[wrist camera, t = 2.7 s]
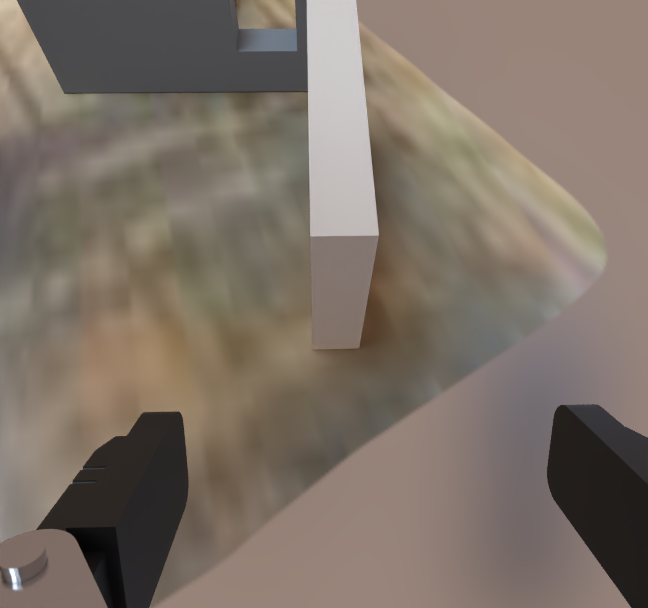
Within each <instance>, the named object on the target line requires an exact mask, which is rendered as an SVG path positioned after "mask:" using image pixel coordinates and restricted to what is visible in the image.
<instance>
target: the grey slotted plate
mask: <svg viewBox="0 0 648 608" xmlns="http://www.w3.org/2000/svg"><path fill="white" fill-rule="evenodd" d="M17 1H18V3H19V5H20V7H21V9H22V11H23V13H24V15H25V17H26V19H27V21H28V23H29V25H30V27H31V29H32V31H33V33H34V35H35V37H36V39H37V41H38V43H39V45H40V46H41V48H42V50H43V52H44V54H45V56H46V58H47V60H48V62H49V64H50V66H51V68H52V70H53V72H54V74H55V76H56V78H57V80H58V82H59V84H60V86H61V88H62V90H63V92H64V93H141V92H280V91H308V53H307V0H295V5H296V29H239V27H238V20H237V13H236V5H235V0H17Z"/></svg>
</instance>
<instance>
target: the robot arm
mask: <svg viewBox="0 0 648 608" xmlns="http://www.w3.org/2000/svg"><path fill="white" fill-rule="evenodd" d="M547 478H548V485H549V489H550V492H551V494H552V497H553V498H554V500H555V502H556V503H557V505H558V506H559V507H560V509H561V510H562V511H563V513H564V514H565V516H566V517H567V519H568V520H569V521H570V523H571V524H572V525H573V527H574V528H575V530H576V531H577V532H578V534H579V535H580V537H581V538H582V539H583V541H584V542H585V544H586V545H587V546H588V548H589V549H590V551H591V552H592V553H593V555H594V556H595V557H596V559H597V560H598V562H599V563H600V564H601V566H602V567H603V569H604V570H605V571H606V573H607V574H608V576H609V577H610V578H611V580H612V581H613V582H614V584H615V585H616V586H617V588H618V589H619V591H620V592H621V594H622V595H623V596H624V598H625V599H626V601H627V602H628V603H629V605H630V606H631V608H648V438H647V437H645V436H643V435H641V434H639V433H637V432H635V431H633V430H631V429H629V428H627V427H624V426H623V425H622V424H621V423H620V422H618V421H617V420H616V419H615V418H614V417H612V416H611V415H610V414H609V413H608V412H607V411H605V410H604V409H603V408H602V407H600V406H599V405H595V404H594V405H593V404H592V405H560V406H559V407H558V408H557V409H556V411H555V414H554V420H553V427H552V435H551V444H550V451H549V459H548V467H547ZM187 496H188V468H187V457H186V446H185V436H184V425H183V418H182V415H181V413H180V412H144V413H142V414H141V416H140V417H139V419H138V420H137V422H136V423H135V425H134V426H133V428H132V429H131V431H130V432H129V434H128V435H127V436H116V437H114V438H113V439H111V440H110V441H108V442H107V443H106V444H104V445H103V446H101V447H100V448H98V449H97V450H95V452H94V453H93V454H92V456H91V457H90V458H89V460H88V461H87V462H86V464H85V465H84V466H83V470H80V472H79V473H78V474H77V476H76V477H75V478H74V480H73V484H70V485H69V486H68V488H67V489H66V491H65V492H64V493H63V495H62V496H61V497H60V499H59V500H58V501H57V503H56V504H55V505H54V507H53V508H52V509H51V511H50V512H49V513H48V515H47V516H46V517H45V519H44V520H43V521H42V523H41V524H40V525H39V527H38V528H37V529H36V530H35V531H31V532H27V533H23V534H21V535H18V536H15V537H13V538H10V539H8V540H6V541H4V542H2V543H1V544H0V608H149V606H150V603H151V600H152V598H153V595H154V592H155V589H156V587H157V584H158V581H159V578H160V576H161V573H162V570H163V567H164V565H165V562H166V559H167V556H168V553H169V551H170V548H171V545H172V542H173V540H174V537H175V534H176V531H177V529H178V526H179V523H180V520H181V518H182V515H183V512H184V509H185V506H186V502H187Z"/></svg>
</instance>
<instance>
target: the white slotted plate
mask: <svg viewBox="0 0 648 608" xmlns="http://www.w3.org/2000/svg"><path fill="white" fill-rule="evenodd" d="M307 53H308V116H309V178H310V240H311V298H312V350H314V349H359V346H360V340H361V334H362V329H363V323H364V317H365V312H366V306H367V300H368V295H369V289H370V283H371V278H372V272H373V266H374V261H375V255H376V249H377V244H378V238H379V231H378V221H377V211H376V200H375V190H374V180H373V170H372V160H371V149H370V139H369V129H368V119H367V109H366V99H365V88H364V78H363V68H362V58H361V48H360V37H359V27H358V17H357V7H356V0H307Z"/></svg>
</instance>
